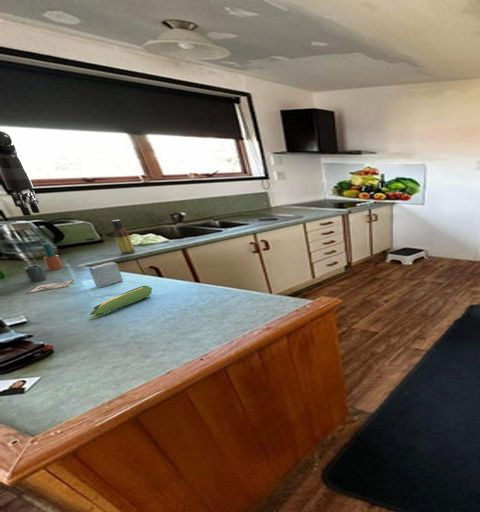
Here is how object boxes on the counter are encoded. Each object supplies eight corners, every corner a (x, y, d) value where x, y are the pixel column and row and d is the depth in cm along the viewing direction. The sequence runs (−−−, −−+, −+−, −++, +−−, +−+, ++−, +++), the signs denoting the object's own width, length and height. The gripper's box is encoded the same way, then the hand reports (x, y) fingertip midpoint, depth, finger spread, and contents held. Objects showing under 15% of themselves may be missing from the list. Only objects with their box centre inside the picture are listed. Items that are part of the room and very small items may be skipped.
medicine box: (118, 279, 124) (112, 261, 121) (123, 281, 122) (117, 263, 119) (95, 286, 117) (88, 267, 114) (100, 288, 115) (92, 269, 112)
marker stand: (29, 284, 120) (22, 269, 117) (34, 280, 123) (27, 266, 121) (44, 281, 122) (37, 267, 120) (49, 278, 126) (42, 264, 123)
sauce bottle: (129, 250, 165) (118, 218, 159) (137, 251, 164) (127, 219, 158) (117, 254, 159) (106, 221, 153) (126, 254, 158) (114, 221, 152)
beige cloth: (26, 294, 110) (25, 293, 109) (36, 287, 117) (36, 285, 117) (68, 287, 116) (67, 286, 116) (76, 280, 123) (75, 279, 123)
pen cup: (47, 271, 134) (41, 258, 132) (51, 268, 138) (46, 255, 135) (61, 269, 136) (55, 256, 134) (64, 267, 140) (59, 254, 138)
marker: (52, 269, 135) (41, 244, 131) (54, 268, 137) (43, 243, 133) (59, 268, 137) (48, 243, 132) (61, 267, 139) (50, 242, 134)
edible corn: (157, 295, 108) (154, 284, 106) (93, 321, 90) (88, 309, 88) (148, 293, 109) (145, 283, 108) (84, 319, 91) (78, 307, 90)
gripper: (12, 178, 126) (28, 212, 132) (-6, 179, 115) (11, 217, 120) (36, 177, 130) (50, 211, 136) (20, 178, 119) (36, 215, 124)
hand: (32, 214), depth 128 cm, fingers open, 8 cm apart
